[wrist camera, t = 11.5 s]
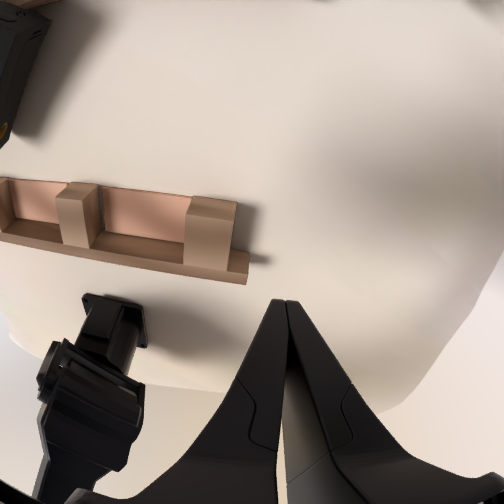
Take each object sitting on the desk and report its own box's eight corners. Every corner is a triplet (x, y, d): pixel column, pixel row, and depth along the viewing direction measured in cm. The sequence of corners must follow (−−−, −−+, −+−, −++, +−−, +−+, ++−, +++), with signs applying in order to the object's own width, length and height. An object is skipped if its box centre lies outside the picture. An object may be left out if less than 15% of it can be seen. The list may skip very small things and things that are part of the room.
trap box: (247, 262, 24) (245, 289, 21) (-23, 218, 22) (-40, 235, 19) (303, -16, 12) (311, -28, 10) (-41, 28, 10) (-65, 33, 8)
